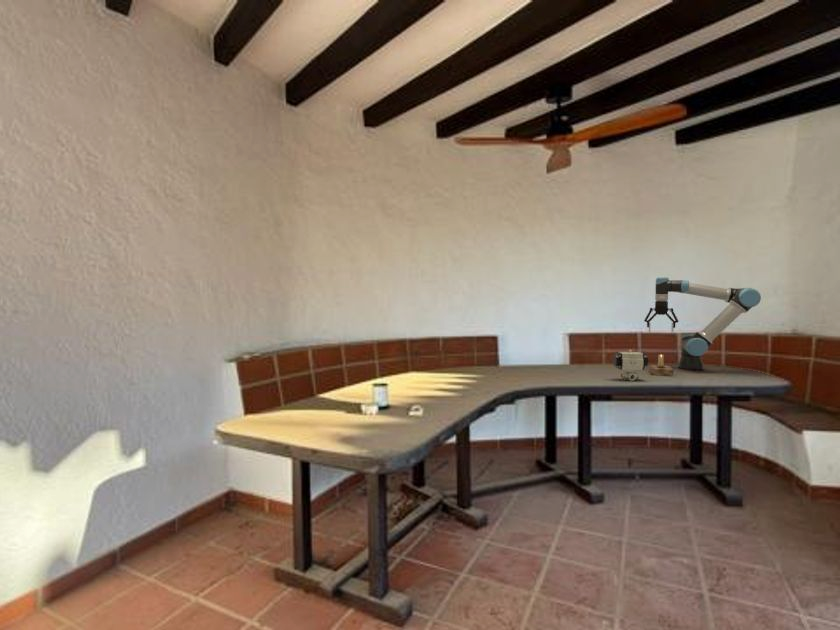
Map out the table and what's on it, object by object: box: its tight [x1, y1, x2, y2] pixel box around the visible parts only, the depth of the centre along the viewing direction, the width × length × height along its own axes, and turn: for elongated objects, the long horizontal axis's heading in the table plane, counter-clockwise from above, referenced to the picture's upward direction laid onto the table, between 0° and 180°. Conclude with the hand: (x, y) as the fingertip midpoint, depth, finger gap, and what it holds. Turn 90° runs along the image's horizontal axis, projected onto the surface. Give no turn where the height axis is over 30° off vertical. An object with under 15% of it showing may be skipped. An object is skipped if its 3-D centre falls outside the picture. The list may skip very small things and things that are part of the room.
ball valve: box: [612, 349, 649, 382], centre depth 281 cm, size 18×8×18 cm, turn 86°
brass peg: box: [657, 354, 665, 368], centre depth 303 cm, size 3×3×12 cm
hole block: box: [648, 364, 674, 377], centre depth 304 cm, size 12×16×4 cm
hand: (660, 332), depth 318 cm, fingers open, 13 cm apart
